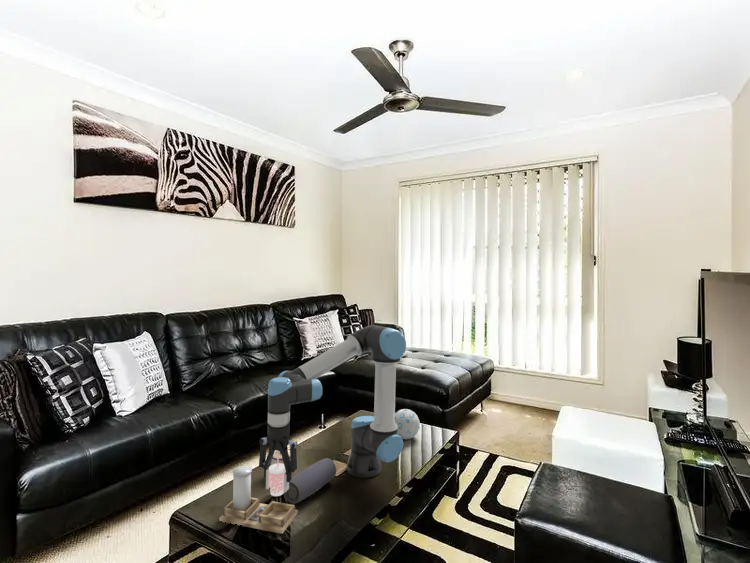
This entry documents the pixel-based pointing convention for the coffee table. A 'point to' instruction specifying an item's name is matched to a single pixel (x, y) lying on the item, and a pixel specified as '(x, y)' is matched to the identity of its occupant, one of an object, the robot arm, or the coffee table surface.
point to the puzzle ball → (407, 423)
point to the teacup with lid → (274, 459)
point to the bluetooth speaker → (310, 480)
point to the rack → (261, 515)
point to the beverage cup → (277, 478)
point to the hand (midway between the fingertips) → (277, 488)
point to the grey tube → (242, 488)
